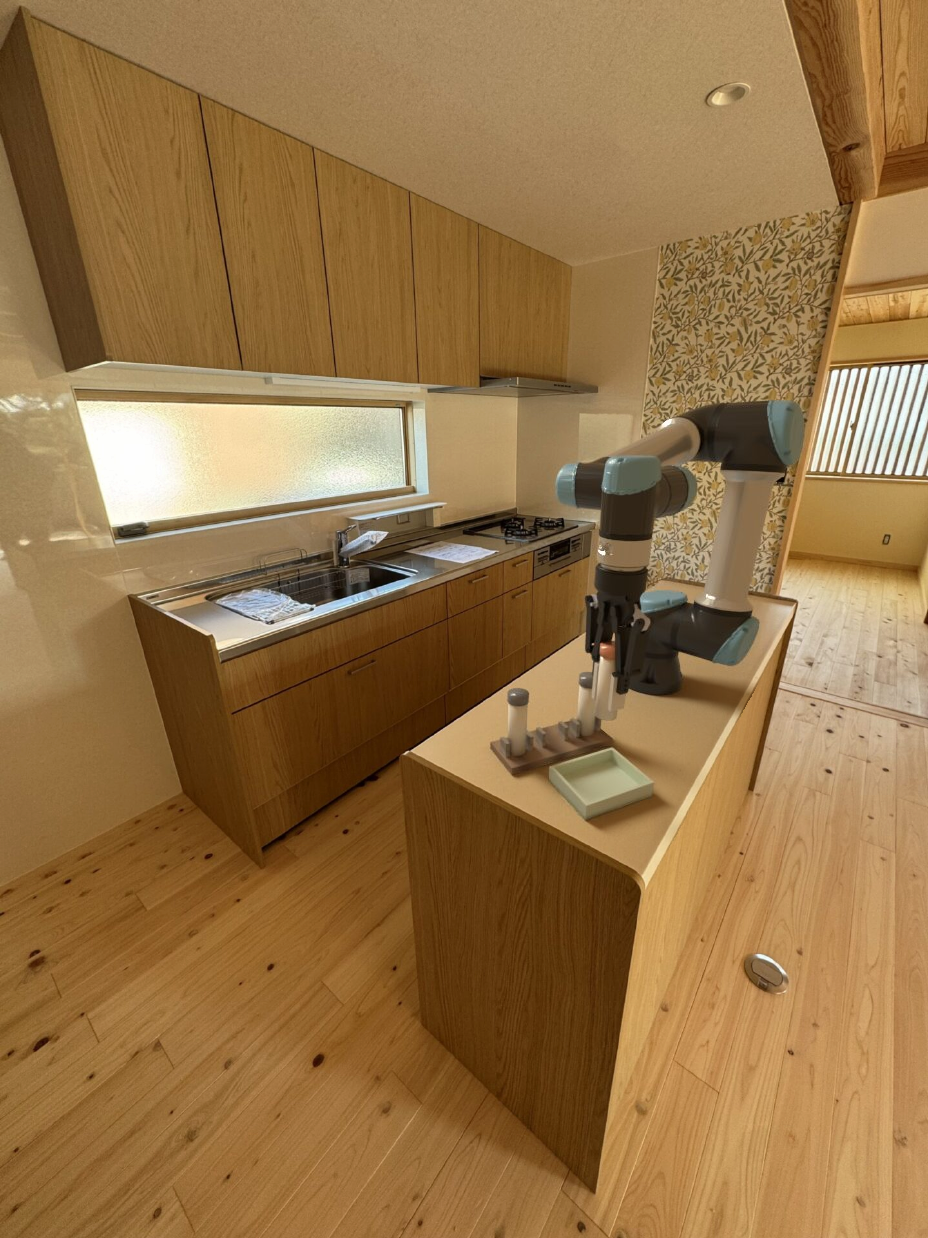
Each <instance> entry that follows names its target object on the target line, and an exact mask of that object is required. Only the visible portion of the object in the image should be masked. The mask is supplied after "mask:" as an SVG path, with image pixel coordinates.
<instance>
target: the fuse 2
mask: <svg viewBox="0 0 928 1238" xmlns="http://www.w3.org/2000/svg"><path fill="white" fill-rule="evenodd" d="M578 685H579V687H578V701H577V712H576V713H577V714H576V719H577V721H578V722H579V723H580V735H583V736H590V735H592V734H593V733H594V725H595V714H594V713H595V703H596V699H593V698H591V697H592V686H593V676H592V671H583V672H580V673H579V674H578Z"/></svg>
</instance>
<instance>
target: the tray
mask: <svg viewBox="0 0 928 1238" xmlns="http://www.w3.org/2000/svg"><path fill="white" fill-rule="evenodd" d="M548 781H549V782H550V783H551V784H552V785H553V786H554V788H555V789H556V790H557V791H558V792H559V793H560V794H561V795H562V797H563V798H564V799H565V800H566V801H567V802H568V803H569V804H570V805H571V807H573V809H574V810H575V811H576V812H577V813H578V814H579V815H580V816H581V818H582V819H583V820H584V821H587V820H591V819H593V818H596V817H598V816H601V815H605V814H606V813H609V812H611V811H612V812H613V811H615V810H618V809H620V808H623V807H625V806H629V805H632V804H635V803H637V802H640V801H643V800H645V799H648V798H651V797H653V793H654V792H653V791H654V785H655V781H654V780H652V779H651V777H649V776H647V775H646V774H645V773H643V771H641V770H640V768H638V767H637V766H636V765H634V764H633V763H632V762H631V761H630V760H628V759H627V758H626V757H625V756H623V754H621V753H620V752H619V751H617V750H616V749H615V748H614V747H608V748H605V749H602V750H599V751H596V752H595V751H594V752H592V753H588V754H586V755H582V756H579V757H576V758H572V759H569V760H566V761H563V762H559V763H556V764H553V765H549V770H548Z"/></svg>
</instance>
